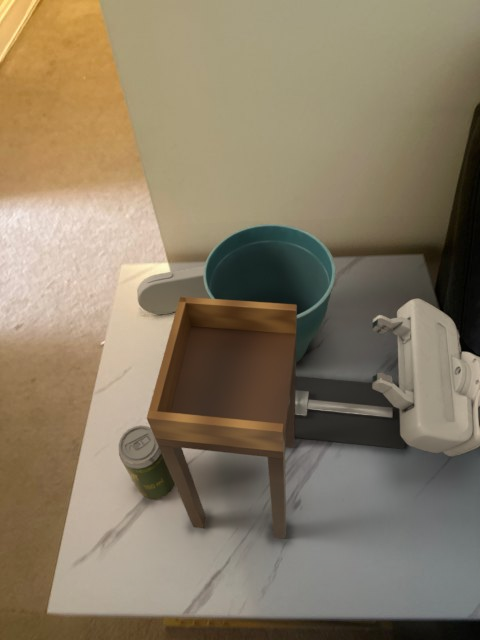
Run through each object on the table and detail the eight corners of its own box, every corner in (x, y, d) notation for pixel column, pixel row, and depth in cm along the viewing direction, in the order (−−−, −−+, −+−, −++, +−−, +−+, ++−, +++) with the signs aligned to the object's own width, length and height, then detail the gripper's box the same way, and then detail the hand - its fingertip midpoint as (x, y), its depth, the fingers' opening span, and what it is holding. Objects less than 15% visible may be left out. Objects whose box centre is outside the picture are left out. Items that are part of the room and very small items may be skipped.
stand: (295, 438, 80) (296, 304, 56) (285, 539, 71) (282, 432, 48) (212, 429, 81) (179, 296, 58) (193, 527, 73) (146, 418, 49)
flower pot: (341, 380, 85) (351, 310, 71) (223, 399, 84) (210, 332, 71) (315, 290, 96) (319, 215, 82) (210, 306, 95) (197, 233, 82)
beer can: (163, 456, 79) (146, 415, 70) (184, 485, 77) (169, 447, 67) (130, 479, 78) (108, 440, 68) (150, 509, 75) (130, 474, 65)
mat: (402, 386, 83) (402, 385, 83) (403, 449, 77) (404, 448, 77) (255, 374, 87) (254, 372, 86) (246, 433, 81) (245, 431, 80)
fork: (391, 402, 81) (392, 399, 81) (392, 427, 79) (393, 424, 78) (268, 390, 84) (268, 387, 83) (265, 414, 82) (264, 411, 81)
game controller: (254, 288, 97) (251, 255, 91) (256, 298, 96) (254, 265, 89) (142, 308, 96) (131, 275, 90) (143, 318, 95) (132, 286, 88)
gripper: (474, 312, 76) (390, 272, 72) (492, 453, 64) (393, 413, 60) (441, 334, 81) (361, 297, 77) (452, 469, 69) (358, 433, 65)
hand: (375, 349), depth 68 cm, fingers open, 7 cm apart
